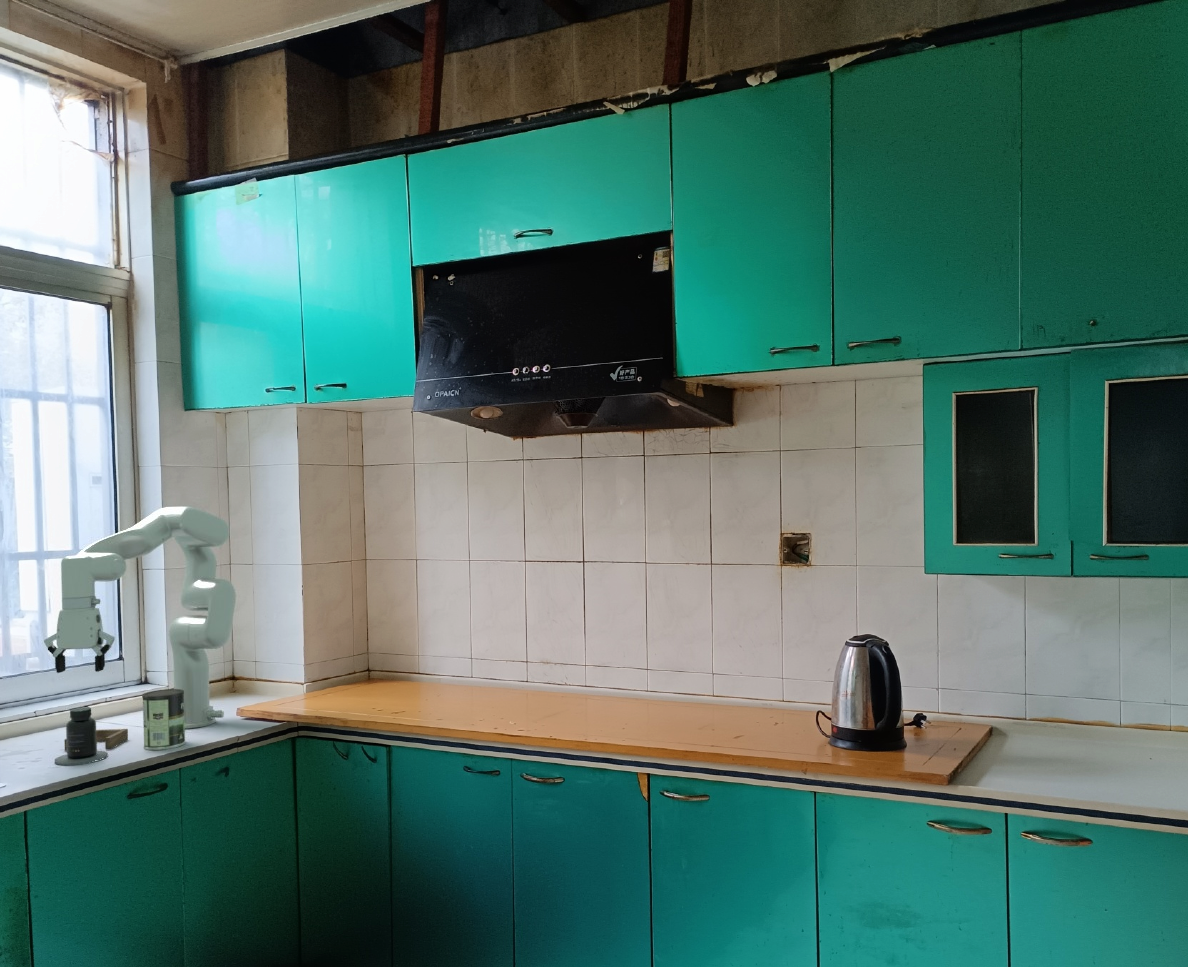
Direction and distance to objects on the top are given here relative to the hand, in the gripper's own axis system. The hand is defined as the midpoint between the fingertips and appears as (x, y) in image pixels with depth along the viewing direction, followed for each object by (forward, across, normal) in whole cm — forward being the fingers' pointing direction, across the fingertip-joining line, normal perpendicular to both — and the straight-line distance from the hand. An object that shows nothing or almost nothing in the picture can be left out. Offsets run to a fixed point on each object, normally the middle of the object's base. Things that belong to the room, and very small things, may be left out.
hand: (80, 671), depth 254 cm
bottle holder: (+22, +3, -14) cm, 26 cm away
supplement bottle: (+22, 0, 0) cm, 22 cm away
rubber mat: (+22, 0, 0) cm, 22 cm away
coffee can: (+22, -16, -12) cm, 30 cm away
